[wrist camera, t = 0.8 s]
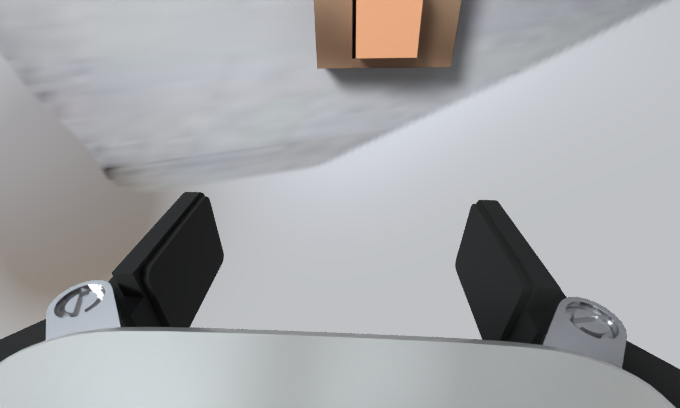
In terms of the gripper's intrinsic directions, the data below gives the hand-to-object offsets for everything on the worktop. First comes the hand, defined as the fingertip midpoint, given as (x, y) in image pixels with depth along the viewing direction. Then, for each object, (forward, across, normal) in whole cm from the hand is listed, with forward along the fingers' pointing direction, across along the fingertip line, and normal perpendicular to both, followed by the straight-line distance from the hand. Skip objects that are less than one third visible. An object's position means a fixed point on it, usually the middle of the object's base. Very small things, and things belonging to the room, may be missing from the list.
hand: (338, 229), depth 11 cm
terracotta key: (+20, -3, -6) cm, 21 cm away
